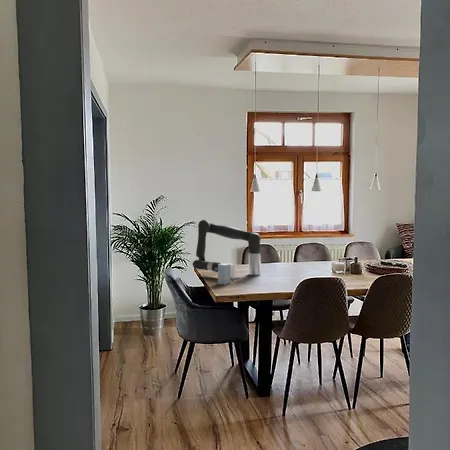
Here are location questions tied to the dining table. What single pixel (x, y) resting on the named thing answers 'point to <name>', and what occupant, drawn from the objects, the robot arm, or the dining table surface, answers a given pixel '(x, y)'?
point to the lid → (232, 269)
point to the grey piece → (224, 274)
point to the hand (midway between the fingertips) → (231, 269)
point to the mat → (234, 278)
